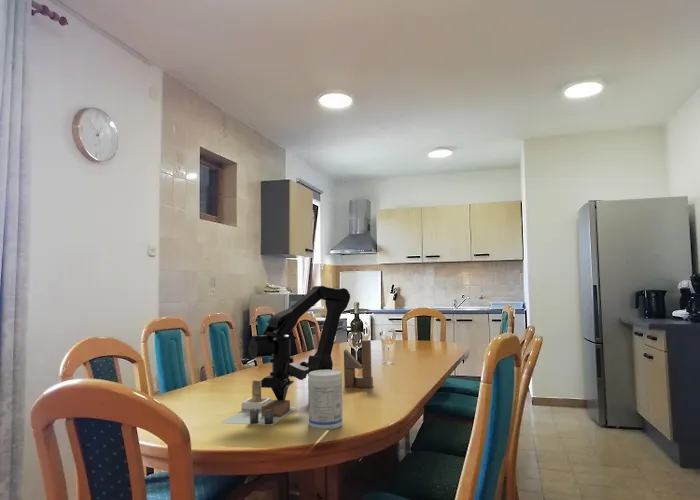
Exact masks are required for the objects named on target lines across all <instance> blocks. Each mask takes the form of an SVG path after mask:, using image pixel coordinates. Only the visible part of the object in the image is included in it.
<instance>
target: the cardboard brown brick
mask: <svg viewBox="0 0 700 500" xmlns="http://www.w3.org/2000/svg"><path fill="white" fill-rule="evenodd" d="M290 407H291V400H289V399H285V400H277V399H271V401H269V402H267V403H266V404H264V405H262V406H261V415H262V416H265V412H264V411H265V410H268V409H272V410H273V417H281V416H283V415H284V414H286V413H287V412H288V411H290Z"/></svg>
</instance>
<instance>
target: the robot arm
mask: <svg viewBox="0 0 700 500" xmlns="http://www.w3.org/2000/svg"><path fill="white" fill-rule="evenodd" d="M321 300H323V301H325V302H324V303H325V308H326V316H325V319H324V321H323V322H324V323H323V327H322V329H321V330H322V331H321V334H320V338H319V342H318V346H317V349H316V352H315V354H313V355H309V356H308V360H307V361H305V360H303V361H301V362H300V363H299V362H297V363H296V362H294V358H293V356H292V357H291V341H292V340H297V337H296V336H295V335H294V334H293V333H292V331H293V329H294V328H295V327H296V326H297V324H298V321H299V319H300V318H301V317H303V315H304V314H305V313H307V312H308V311H309V310H311V308H313V307H314V306H315V305H316V304H317V303H318V302H319V301H321ZM350 300H351V294H350V292H349V290H348V289H347V288H344V287H341V288H340V287H339V288H338V287H337V288H332V287H327V286H325V285H315V286H313V287H312V288H311V290H309V291H308V292H307V293H306V294H304V295H303V296H302V297H301V298H299V299H298V300H297V301H296V302H295V303H294V304H293V305H291V306H290V307H288V308H287V309H284V310H282V311H279V312H277V313H275V314H274V315H272V316H271V317H269V320H268V321H269V322H268V325H267V326H266V328H265V330H264V331H263V332H262V335H251V340H250V341H249V343H248V346H247V347H248V348H247V351H248V355H249V357H250V359H253V360H254V359H261V358H270V357H271V358H270V359H269V363H271V364H272V367H271V368H272V370H271V371H270V373H269V375H267V376H264V377H263V378H262V379H260V380H261V389H262V388H263V389H264V388H265V389H266V388H267V389H271V390H272V393H273V394H274V396H275V398H276V400H286V397H287V393H288V389H289V388H290V386H291V385H292V384H294V380H291V379H290V377H294V378H295V379H297V380H299V381H303V380H304V379H306V378H307V377H309V372H311V371H316V370H333V365H334V364H333V360H332V359H333V358H332V352H333V347H334V344H335V339H336V336H337V331H338V327H339V323H340V319H341V316H342V314H343V313H344V311H345V310H346V309H347V307H348V305H349V302H350Z"/></svg>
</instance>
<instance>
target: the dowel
mask: <svg viewBox="0 0 700 500" xmlns="http://www.w3.org/2000/svg"><path fill="white" fill-rule="evenodd" d="M261 380H262V379H253V380H252V381H251V382H252V384H251V387H252V388H251V389H252V390H251V391H252V392H251V395H252V396H251V397H252V402H261V398H262V387H261Z"/></svg>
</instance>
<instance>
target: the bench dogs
mask: <svg viewBox="0 0 700 500" xmlns="http://www.w3.org/2000/svg"><path fill="white" fill-rule="evenodd" d="M264 412H265V424H273V410H272V409H268V410H265V411H264ZM250 423H251V424H250V425H257V424H256V423H259V409H251V410H250Z"/></svg>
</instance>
